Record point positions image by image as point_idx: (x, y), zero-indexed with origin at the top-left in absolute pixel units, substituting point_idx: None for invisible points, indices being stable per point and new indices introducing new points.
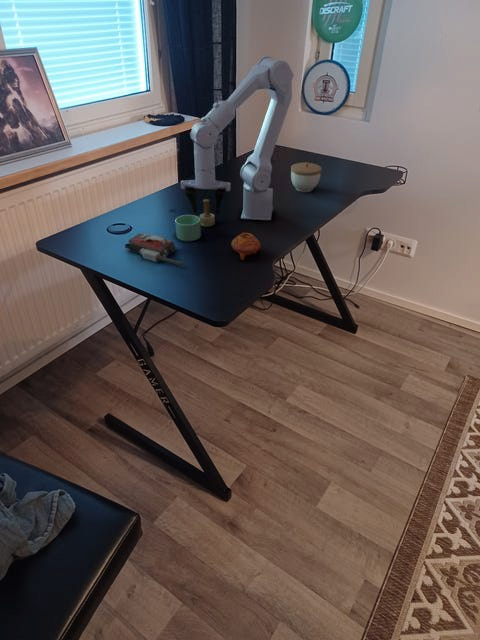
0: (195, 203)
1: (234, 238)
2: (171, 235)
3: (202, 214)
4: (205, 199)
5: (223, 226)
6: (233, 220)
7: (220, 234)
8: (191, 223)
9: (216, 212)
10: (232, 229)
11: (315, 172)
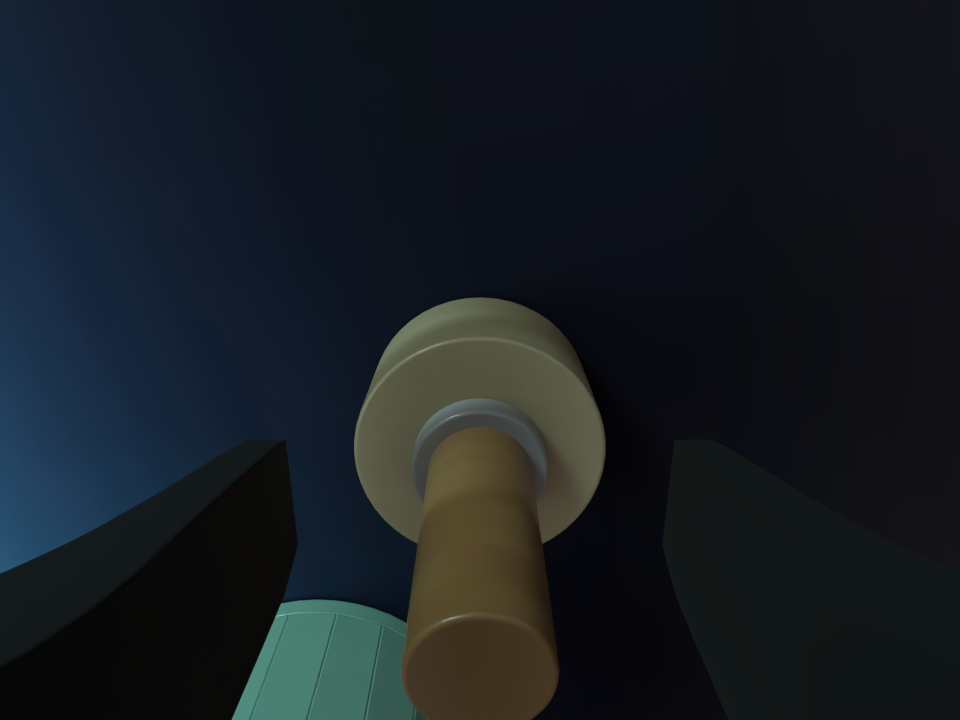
0: (226, 647)
1: None
2: None
3: (392, 416)
4: (448, 641)
5: None
6: (869, 253)
7: (682, 648)
8: (308, 690)
9: (673, 570)
10: None
11: None
